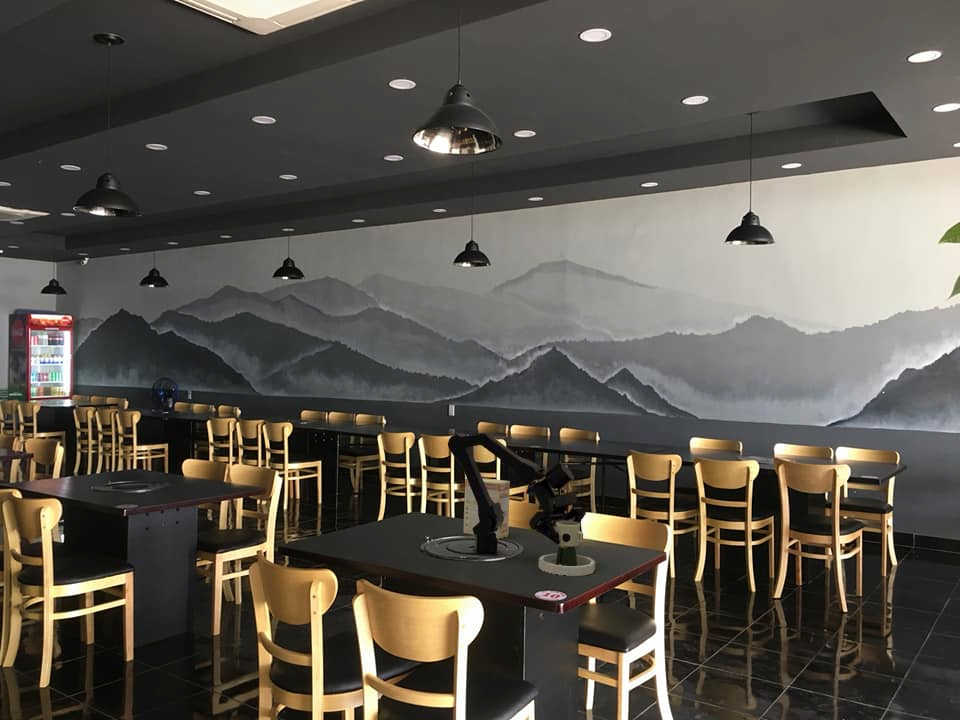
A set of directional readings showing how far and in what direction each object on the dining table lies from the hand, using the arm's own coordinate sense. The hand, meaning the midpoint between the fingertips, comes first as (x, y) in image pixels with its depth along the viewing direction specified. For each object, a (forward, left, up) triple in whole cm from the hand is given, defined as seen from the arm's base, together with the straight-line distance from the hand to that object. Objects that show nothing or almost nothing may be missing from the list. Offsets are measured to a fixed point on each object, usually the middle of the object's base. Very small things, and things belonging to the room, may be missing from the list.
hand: (570, 542), depth 222 cm
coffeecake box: (-15, +48, -8) cm, 51 cm away
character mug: (-1, +1, -8) cm, 8 cm away
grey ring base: (-1, +1, -8) cm, 8 cm away
